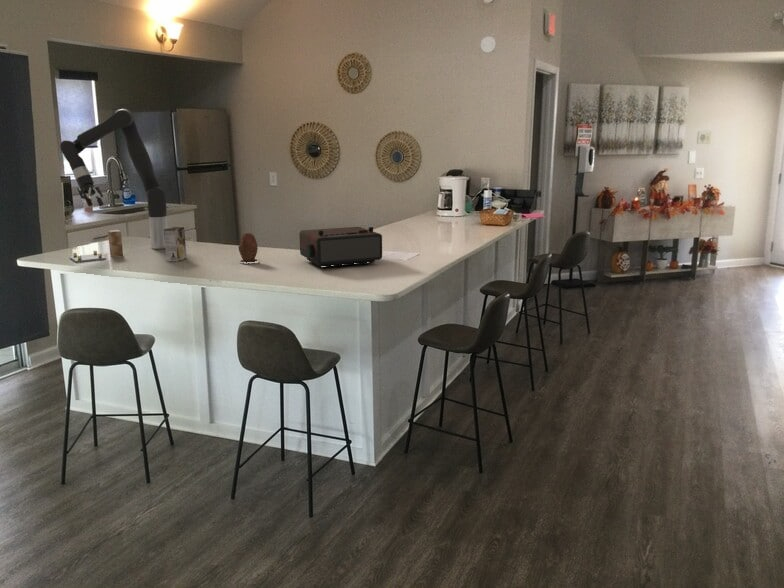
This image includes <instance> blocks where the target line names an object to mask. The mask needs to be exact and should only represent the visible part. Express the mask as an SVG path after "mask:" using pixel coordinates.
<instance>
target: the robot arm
mask: <svg viewBox="0 0 784 588" xmlns="http://www.w3.org/2000/svg"><path fill="white" fill-rule="evenodd" d="M117 130H121V132H122V134H123V136H124V139H125V143H126V148H127V151H128V155H129V157H130V160H131V162H132V165H133V167H134V169H135V170H136V173H137V174H138V176H139V177H140V179H141V182H142V185H143V188H144V190H145V195H146V198H147V207H148V209H147V211H148V212H147V213H148V222H149V233H150V234H149V236H150V247H151V249H154V250H155V249H156V250H159V249H160V250H162V249H165V238H164V229H167V228H169V227H168V218H167V198H166V197H167V196H166V192H165V191H164V189H163V188H162V187H161V185H160V184H159V181H158V180H157V179H158V178H157V177H156V175H155V171H154V167H153V163H152V161H151V157H150V155H149V153H148V150H147V147H146V145H145V143H144V142H143V139H142V138H141V136H140V134H139V130H138V127H137V125H136V121H135V118H134V114H132V111H130V110H129V109H126V108H121V109H117V110H116V111H115V112H114V113H113V114H112V115H111V116H109V117H108V118H107V119H105V120H104V121H102V122H100V123H99V124H96V125H94V126H92V127H90V128H88V129H86V130H85V131H83V132H81V133H80V134H77V136H76V139H74V140H73V141H71V140H69V139H64V140H62V141H61V142H60V145H59V146H60V147H59V148H60V151H61V154H62V155H63V156H64V158H65V159H66V161H67V162H68V164H69V166H70V169H71V171H72V173H73V176H74V179H75V181H76V183H77V185H78V186H79V187H77V191H78V193H79V196H80V198H81V199H83V200H84V201H85V202H86V204H87V206H88V207H92V206H93V202H92V199H91V198H90V197H92V198H95V200H96V201H97V204H98V206H99V207H102V206H104V204H105V203H104V202H103V200H102V198H103V197H104V195H103V193H102V191H101V189H100V187H99V186H96V187H95V186H94V183H95V181H94V179H93V177H92V174H91V173H90V171H89V169H88V167H87V165H86V164H85V161H84V159H83V158H82V157H81V156H80V154H81V153H82V152H83V151H84V150H85V149H86V148H88V147H90V146H91V145H93V144H95V143H97V142H99V141H100V140H101V139H103V138H104V137H106V136H107V135H109V134H111V133H113V132H115V131H117Z"/></svg>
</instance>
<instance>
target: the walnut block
mask: <svg viewBox="0 0 784 588" xmlns="http://www.w3.org/2000/svg"><path fill="white" fill-rule="evenodd" d="M107 235H108V245H109V246H108V247H109V255H111V256H110V257H111V258H117V257H116V256H121V257H124V251H123V250H124V249H123V239H122V231H121V230H119V229H113V230H107Z"/></svg>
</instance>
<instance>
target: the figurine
mask: <svg viewBox="0 0 784 588" xmlns="http://www.w3.org/2000/svg"><path fill="white" fill-rule="evenodd" d="M240 238H241V239H240V242H241V243H239V245H238V252H239V254H240V257H241V260H240V262H246V263H247V262H255V261H257V260H258V259H256V256H257V254H258V249H259V248H258V243H257V239H256V237H255V235H254V234H253V233H251V232H245V233H243V234H242V236H241V237H240ZM240 262H239V263H240Z"/></svg>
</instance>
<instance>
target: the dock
mask: <svg viewBox="0 0 784 588" xmlns="http://www.w3.org/2000/svg"><path fill="white" fill-rule="evenodd" d="M72 254H73V255H71V256H69V259H70V260H71V259H72V260H71V261H73V262H74V261H75V262H74V263H76V264H78V262H80V263H87V261H89V262H96V260H98V261H105V260H104V259H106V260H107V257H106V256H104V255H103V254H102V253H101V252H100V253H98V252H97V250H93V253H91V254H82V255H77V254H78V253H77V252H73V253H72Z"/></svg>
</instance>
